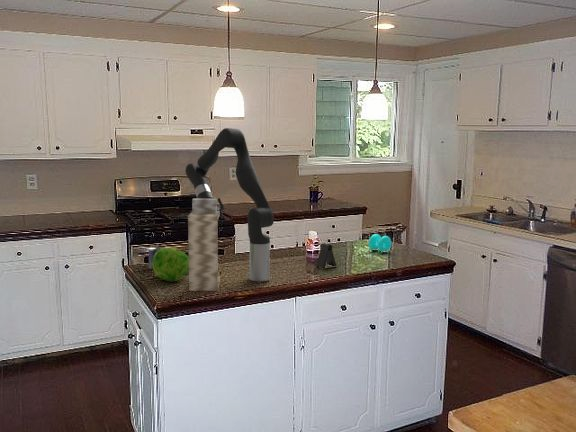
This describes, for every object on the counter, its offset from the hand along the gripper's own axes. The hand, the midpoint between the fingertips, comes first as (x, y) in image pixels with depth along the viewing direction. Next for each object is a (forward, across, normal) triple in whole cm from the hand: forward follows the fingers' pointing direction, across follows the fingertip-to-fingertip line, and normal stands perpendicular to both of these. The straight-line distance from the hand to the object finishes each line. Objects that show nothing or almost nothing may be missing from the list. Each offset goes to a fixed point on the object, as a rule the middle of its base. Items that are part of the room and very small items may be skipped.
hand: (213, 220), depth 256 cm
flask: (+4, -35, +14) cm, 38 cm away
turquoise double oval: (+17, +76, +70) cm, 105 cm away
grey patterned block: (+4, +1, -16) cm, 17 cm away
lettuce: (+21, -27, -1) cm, 35 cm away
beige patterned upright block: (+33, -12, -4) cm, 35 cm away
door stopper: (+30, +42, +35) cm, 62 cm away
